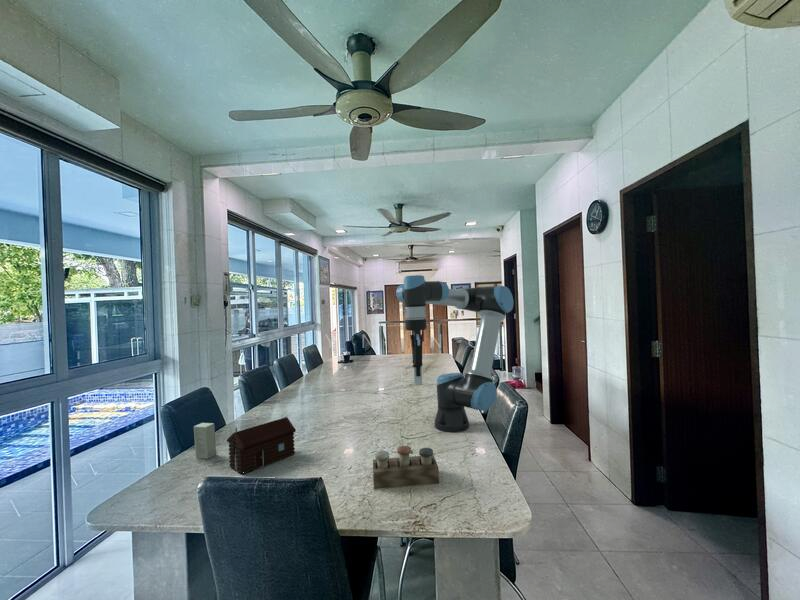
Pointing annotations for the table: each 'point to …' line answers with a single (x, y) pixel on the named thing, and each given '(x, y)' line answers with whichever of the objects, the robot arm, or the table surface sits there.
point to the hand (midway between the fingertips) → (418, 384)
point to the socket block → (405, 473)
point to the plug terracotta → (404, 455)
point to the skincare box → (204, 440)
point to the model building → (261, 445)
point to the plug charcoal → (426, 455)
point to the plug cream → (382, 459)
